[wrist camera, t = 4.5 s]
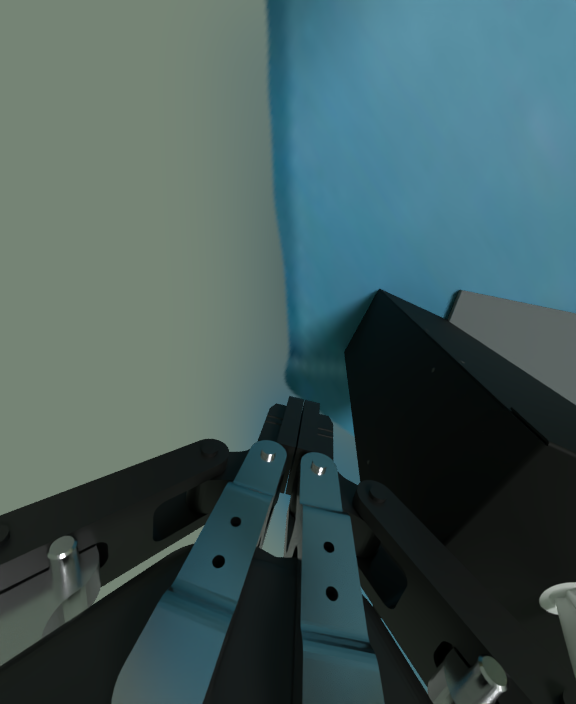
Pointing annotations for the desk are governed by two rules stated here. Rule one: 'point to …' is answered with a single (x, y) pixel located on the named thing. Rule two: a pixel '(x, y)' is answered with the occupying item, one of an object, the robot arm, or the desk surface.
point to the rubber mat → (523, 336)
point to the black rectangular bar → (472, 459)
